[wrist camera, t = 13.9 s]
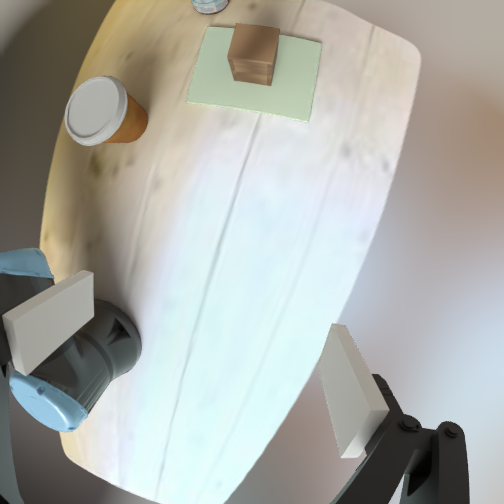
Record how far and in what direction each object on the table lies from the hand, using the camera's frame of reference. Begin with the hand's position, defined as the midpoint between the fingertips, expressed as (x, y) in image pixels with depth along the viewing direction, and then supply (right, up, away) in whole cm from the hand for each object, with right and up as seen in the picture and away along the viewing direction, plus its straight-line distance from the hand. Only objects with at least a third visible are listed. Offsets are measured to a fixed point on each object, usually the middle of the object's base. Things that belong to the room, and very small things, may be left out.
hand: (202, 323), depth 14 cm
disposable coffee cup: (-17, +24, +25) cm, 38 cm away
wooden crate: (+3, +30, +21) cm, 37 cm away
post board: (+3, +31, +22) cm, 38 cm away
